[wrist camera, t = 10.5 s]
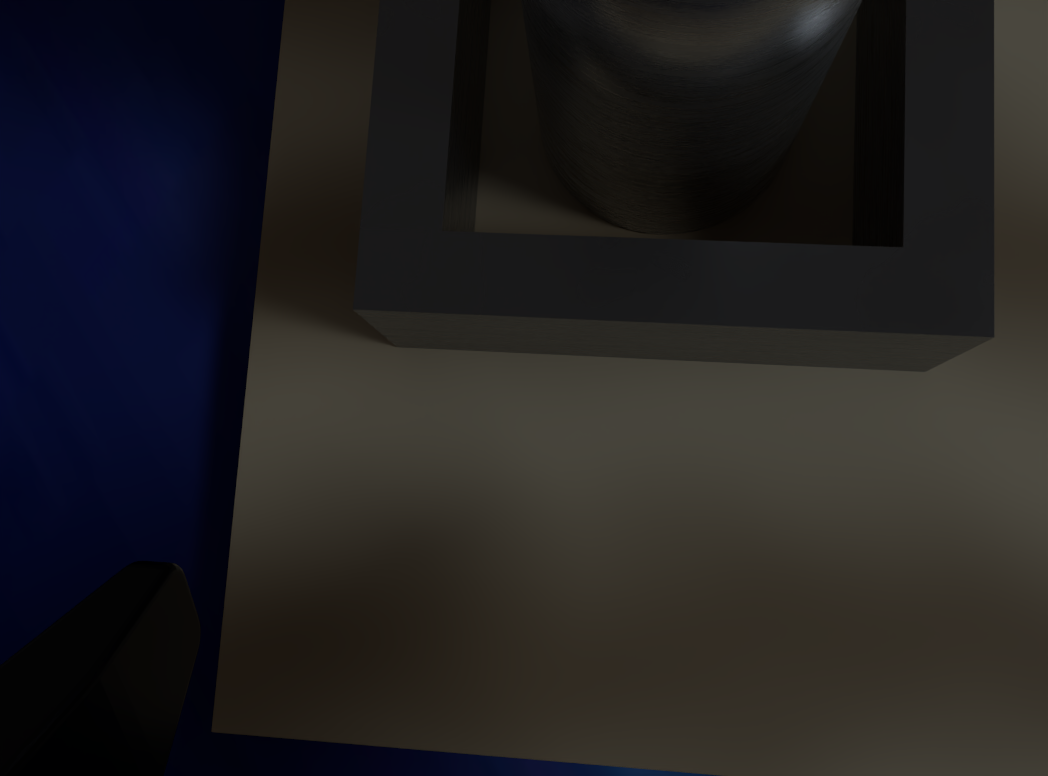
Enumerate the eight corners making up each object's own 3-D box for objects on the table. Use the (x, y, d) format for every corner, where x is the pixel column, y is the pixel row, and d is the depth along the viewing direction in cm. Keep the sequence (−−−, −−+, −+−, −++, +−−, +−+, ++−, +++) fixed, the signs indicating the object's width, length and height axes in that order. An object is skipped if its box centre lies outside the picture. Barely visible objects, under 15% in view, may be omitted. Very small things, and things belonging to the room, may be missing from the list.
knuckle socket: (925, 371, 16) (994, 338, 13) (397, 347, 17) (352, 309, 14) (929, -123, 18) (993, -255, 15) (435, -124, 18) (401, -250, 15)
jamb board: (1897, 859, 15) (1987, 883, 14) (234, 720, 18) (211, 732, 17) (1785, -116, 17) (1856, -155, 16) (315, -120, 20) (300, -154, 19)
